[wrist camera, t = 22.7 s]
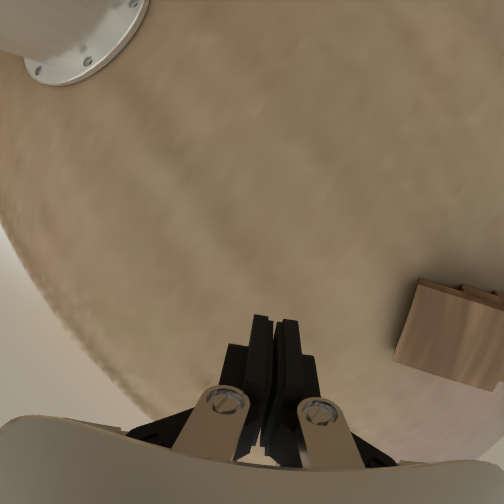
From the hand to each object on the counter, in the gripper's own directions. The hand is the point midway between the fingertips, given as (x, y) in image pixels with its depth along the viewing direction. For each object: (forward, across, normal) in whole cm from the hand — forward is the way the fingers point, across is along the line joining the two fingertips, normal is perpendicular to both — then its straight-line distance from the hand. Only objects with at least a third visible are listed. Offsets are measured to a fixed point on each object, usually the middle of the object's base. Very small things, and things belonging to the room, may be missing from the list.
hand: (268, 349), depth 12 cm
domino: (+8, -10, +2) cm, 14 cm away
